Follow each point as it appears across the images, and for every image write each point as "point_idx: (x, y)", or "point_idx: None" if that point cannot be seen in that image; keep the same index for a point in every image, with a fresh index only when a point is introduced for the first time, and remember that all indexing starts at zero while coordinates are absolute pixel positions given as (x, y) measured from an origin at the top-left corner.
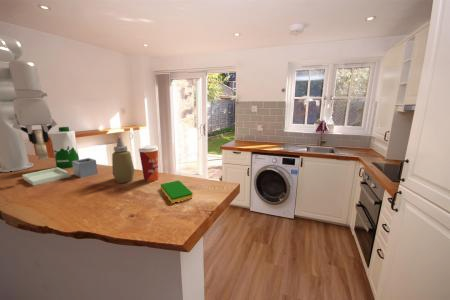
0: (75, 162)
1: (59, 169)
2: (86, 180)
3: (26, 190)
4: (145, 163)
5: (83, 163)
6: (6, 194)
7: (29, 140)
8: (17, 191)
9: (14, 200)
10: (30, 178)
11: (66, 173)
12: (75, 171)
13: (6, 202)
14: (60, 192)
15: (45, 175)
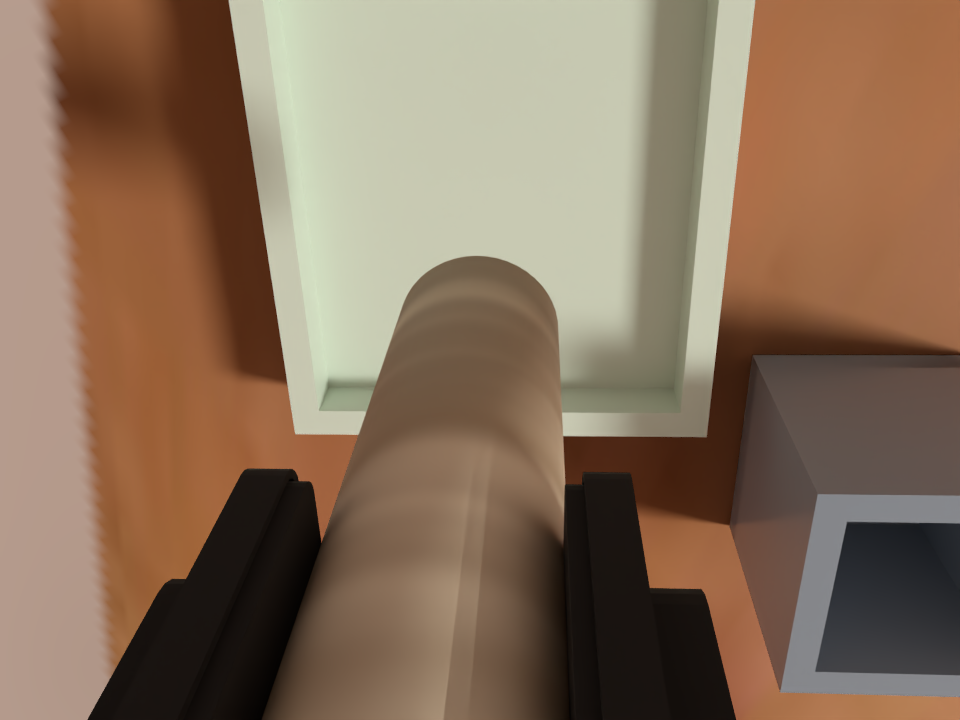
0: (801, 603)
1: (708, 109)
2: (744, 587)
3: (249, 396)
4: None
5: (843, 683)
6: (93, 358)
7: (166, 608)
8: (177, 352)
9: (159, 570)
10: (291, 270)
11: (661, 432)
12: (764, 461)
13: (110, 564)
14: None
15: (501, 77)
